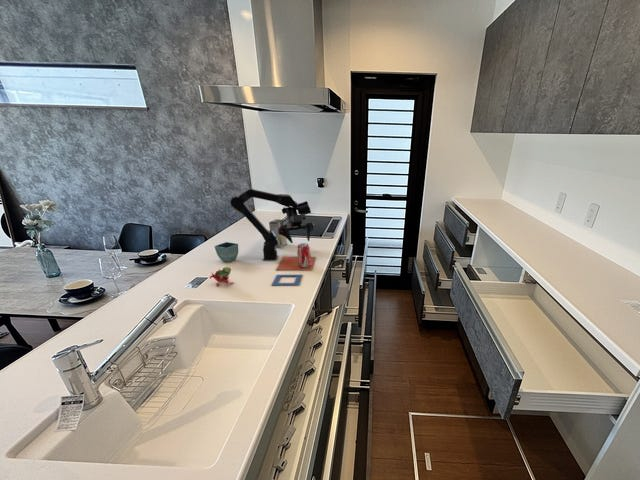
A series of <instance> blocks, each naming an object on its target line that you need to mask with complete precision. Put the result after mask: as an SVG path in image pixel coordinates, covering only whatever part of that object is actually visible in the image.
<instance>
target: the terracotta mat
mask: <svg viewBox="0 0 640 480" xmlns="http://www.w3.org/2000/svg"><path fill="white" fill-rule="evenodd" d="M315 259H316V256H310V264H311V265H310V266H309V267H306V268H302V267H300V266H299V264H298V256H283V257H282V259H281V261H280V262H279V264H278V265H277V267H276V271H312V270H313V266H314V262H315Z"/></svg>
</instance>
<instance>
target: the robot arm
mask: <svg viewBox="0 0 640 480" xmlns="http://www.w3.org/2000/svg"><path fill="white" fill-rule="evenodd" d="M252 198H255V199H260V200H264V201H268V202H274V203H276V204H278V205H281V206H284V207H282V209H281V213H282V214H283V215H284V214H285V215H286V219H287V221H288V225H289V226H288V225H287V224H285V225H280V226H279V229H278V233H279V235H282V236H285V237H286V239H287V240H288V241H289V243H291V244H293V239H292V236H291V234H290V231H300V230H301V231H302V230H304V231H305V232H304V233H305V236H306V240H307V241H308V242H310V238H311V233H312V232H313V231H314V228H315V224H314V222H313V221H310V222H305V224H303V222H304V221H306V219H307V217H306V215H309V214H312V211H311V207H310V205H309V202H308V201H307V200H305V201H302V202H300V203H298V202H297V201H295V199H293V197H292V195H291V194H284V193H279V194H278V193H272V192H267V191H263V190H258V189H255V188H248V189H247V190H245V191H244V192H242V193H240V194H239V195H238V194H237V195H234V196H232V198H231V199H230V205H231V207H232V208H233V209H235V210H236V211H237V212H239V213H240V214H242V215H243V216H244V217H245V218H246V219H247V220H248V221H249V223H250V224H251V225H252V226H253V227H254V228H255V229H256V230H257V231H258V232H259V233H260V234H261V236H262V238H263V240H264V242H263V248H262V251H263V259H262V260H263V261H276V260H277V258H278V250H277V247H275V246H276V245H277V243H278V239H277V234H275V233H274V232H273V230H271V231H270V229H267V227H266V226H265V225H264V224H263V223H262V222H261V220H259V218H258V217H257V216H256V215H255V214H254V213H253V212H252V210H251V209H250V208H249V206H248V203H246V202H247V201H249V200H250V199H252ZM302 224H303V225H302Z"/></svg>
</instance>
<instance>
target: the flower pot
mask: <svg viewBox="0 0 640 480" xmlns="http://www.w3.org/2000/svg"><path fill="white" fill-rule="evenodd" d="M213 247H214V250H215V253H216V255H217V257H218V258H219V259H220V260H221V261H222V262H227V263H230V262H233V261H235V260H236V259H237V258H238V255H239V243H236V242H230V241H225V242H223V243H219V244H216V245H214V246H213Z"/></svg>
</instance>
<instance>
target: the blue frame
mask: <svg viewBox="0 0 640 480" xmlns="http://www.w3.org/2000/svg"><path fill="white" fill-rule="evenodd" d="M302 276H303V275H302V274H277V275H276V277H275V278H274V280H273V282H272V284H271V286H273V287H274V286H275V287H277V286H279V287H281V286H283V287H284V286H287V287H288V286H299V284H300V283H301V282H300V281H301V279H302ZM281 278H295V281H294V282H279V281H280V280H281Z"/></svg>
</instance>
